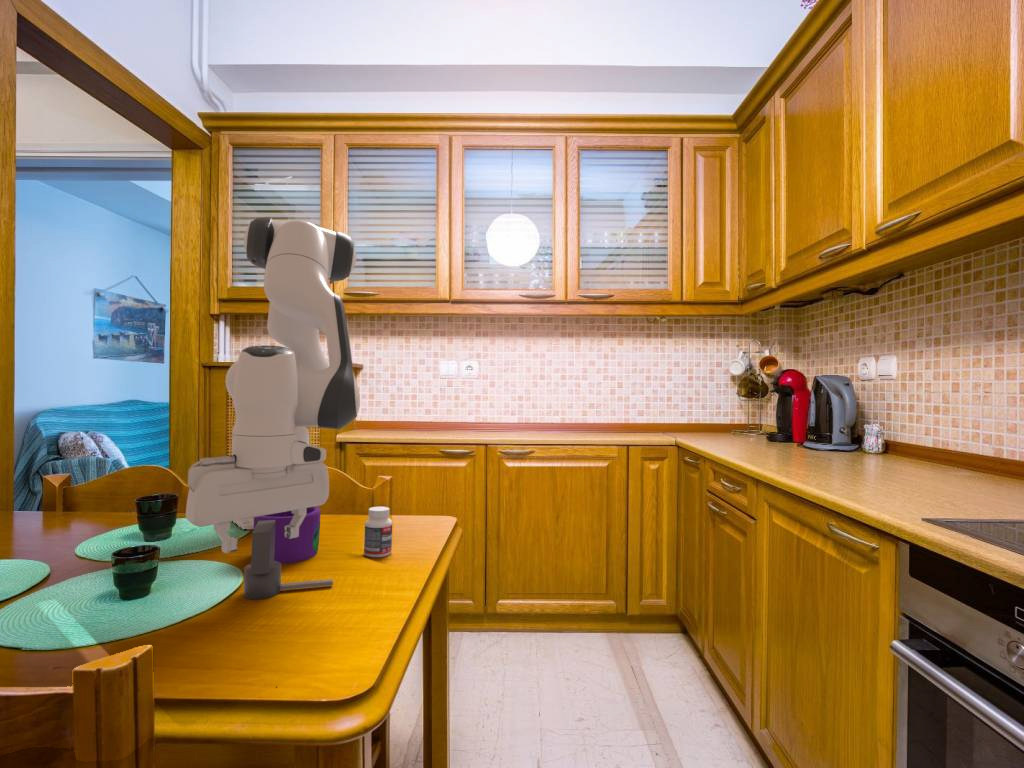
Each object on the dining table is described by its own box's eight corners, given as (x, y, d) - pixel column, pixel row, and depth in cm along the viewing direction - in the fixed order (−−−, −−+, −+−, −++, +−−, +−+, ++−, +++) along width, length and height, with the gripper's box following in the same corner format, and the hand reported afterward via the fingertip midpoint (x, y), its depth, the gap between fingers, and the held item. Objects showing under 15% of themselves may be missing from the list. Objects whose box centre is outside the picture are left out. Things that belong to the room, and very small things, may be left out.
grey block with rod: (240, 603, 74) (241, 533, 74) (247, 585, 81) (249, 521, 81) (332, 594, 78) (334, 527, 78) (332, 578, 85) (334, 516, 85)
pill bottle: (384, 559, 99) (385, 512, 100) (359, 556, 101) (360, 510, 101) (395, 550, 105) (397, 506, 105) (371, 548, 106) (372, 504, 106)
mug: (313, 573, 92) (315, 516, 92) (244, 576, 90) (245, 518, 90) (328, 544, 109) (329, 496, 109) (269, 546, 107) (271, 497, 107)
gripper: (198, 462, 69) (195, 566, 69) (335, 449, 85) (332, 534, 85) (179, 456, 72) (176, 555, 73) (314, 445, 89) (311, 526, 89)
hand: (261, 544), depth 79 cm, fingers open, 8 cm apart
